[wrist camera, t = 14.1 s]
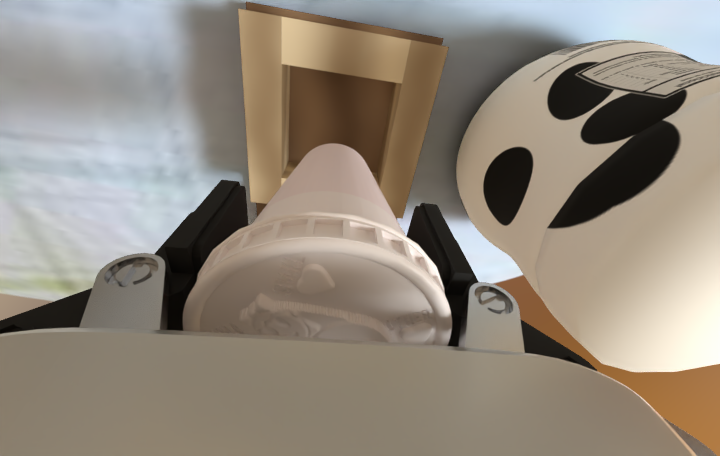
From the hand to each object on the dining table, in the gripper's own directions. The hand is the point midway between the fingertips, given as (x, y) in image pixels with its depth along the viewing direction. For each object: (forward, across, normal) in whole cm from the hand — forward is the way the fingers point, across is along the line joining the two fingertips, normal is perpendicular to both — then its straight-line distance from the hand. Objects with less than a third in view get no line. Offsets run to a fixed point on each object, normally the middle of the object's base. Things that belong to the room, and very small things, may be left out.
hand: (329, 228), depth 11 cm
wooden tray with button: (+17, 0, +5) cm, 18 cm away
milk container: (+18, -19, 0) cm, 26 cm away
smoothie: (+5, 0, 0) cm, 5 cm away
